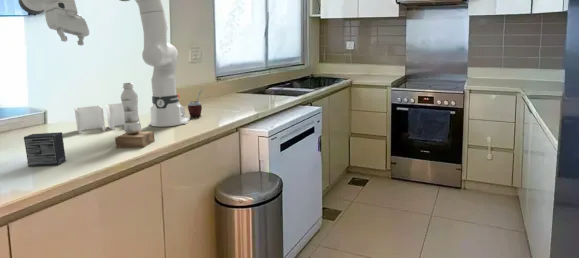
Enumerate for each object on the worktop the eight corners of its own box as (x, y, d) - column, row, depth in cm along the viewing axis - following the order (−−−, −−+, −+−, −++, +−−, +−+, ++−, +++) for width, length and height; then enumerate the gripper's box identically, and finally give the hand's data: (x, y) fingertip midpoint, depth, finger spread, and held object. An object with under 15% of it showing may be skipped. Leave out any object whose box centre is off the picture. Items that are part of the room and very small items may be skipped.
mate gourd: (186, 117, 250) (184, 88, 248) (200, 115, 255) (197, 87, 252) (192, 118, 245) (190, 89, 242) (206, 116, 249) (204, 88, 246)
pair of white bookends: (131, 124, 238) (129, 102, 236) (136, 127, 229) (133, 104, 227) (77, 130, 226) (74, 108, 224) (80, 134, 217) (76, 110, 215)
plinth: (129, 141, 195) (128, 131, 194) (154, 141, 194) (153, 131, 193) (116, 147, 185) (114, 137, 184) (143, 147, 183) (141, 136, 182)
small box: (67, 160, 168) (63, 131, 166) (59, 165, 161) (54, 135, 159) (36, 162, 168) (32, 133, 166) (27, 167, 161) (22, 136, 159)
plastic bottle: (124, 136, 185) (118, 84, 181) (125, 133, 191) (119, 83, 187) (141, 134, 186) (136, 83, 182) (142, 131, 193) (136, 82, 189)
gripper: (76, 18, 204) (84, 49, 203) (39, 7, 184) (48, 41, 183) (88, 13, 202) (96, 44, 202) (53, 1, 183) (61, 36, 182)
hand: (73, 43), depth 192 cm, fingers open, 8 cm apart
